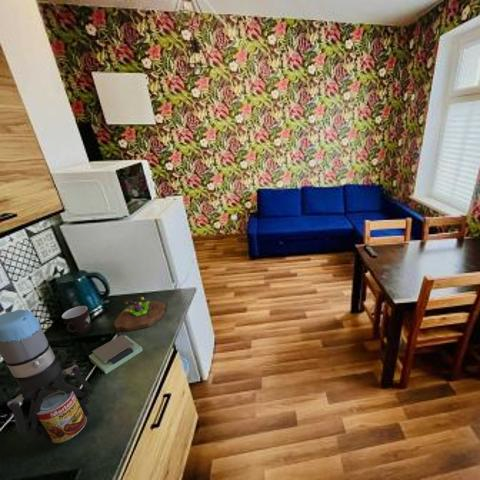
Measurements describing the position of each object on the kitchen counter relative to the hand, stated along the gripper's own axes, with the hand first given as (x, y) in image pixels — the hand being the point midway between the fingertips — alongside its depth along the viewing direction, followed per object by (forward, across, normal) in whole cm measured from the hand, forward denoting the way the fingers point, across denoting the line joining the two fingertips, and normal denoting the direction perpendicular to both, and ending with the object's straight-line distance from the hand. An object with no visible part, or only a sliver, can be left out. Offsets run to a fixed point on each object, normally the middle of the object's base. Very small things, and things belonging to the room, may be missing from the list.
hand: (67, 425), depth 76 cm
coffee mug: (+7, +19, +52) cm, 56 cm away
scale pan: (+2, +21, +23) cm, 32 cm away
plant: (+6, +39, +40) cm, 56 cm away
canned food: (+1, 0, 0) cm, 1 cm away
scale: (+6, +21, +22) cm, 32 cm away
